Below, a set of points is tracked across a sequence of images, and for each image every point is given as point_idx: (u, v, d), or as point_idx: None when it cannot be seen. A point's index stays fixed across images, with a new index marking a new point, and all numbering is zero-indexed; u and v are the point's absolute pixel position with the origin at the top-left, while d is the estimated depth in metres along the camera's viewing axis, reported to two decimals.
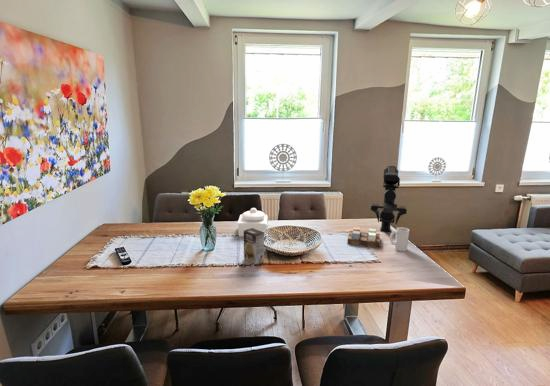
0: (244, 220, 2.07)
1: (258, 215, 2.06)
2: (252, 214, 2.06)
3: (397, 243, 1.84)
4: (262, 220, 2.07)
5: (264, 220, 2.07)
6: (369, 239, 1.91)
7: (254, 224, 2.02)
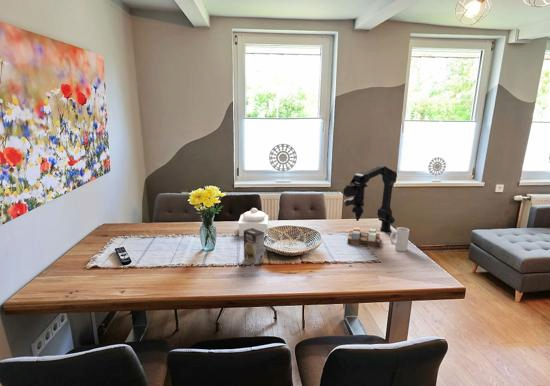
0: (245, 220, 2.07)
1: (259, 215, 2.05)
2: (253, 214, 2.06)
3: (397, 243, 1.84)
4: (263, 220, 2.07)
5: (265, 220, 2.07)
6: (369, 239, 1.91)
7: (255, 224, 2.02)
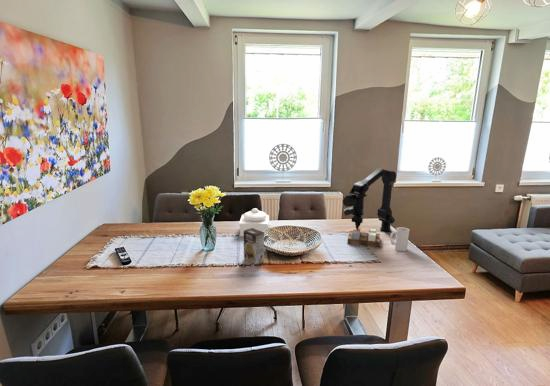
0: (246, 220, 2.07)
1: (260, 215, 2.05)
2: (254, 214, 2.05)
3: (397, 243, 1.84)
4: (264, 220, 2.07)
5: (266, 220, 2.07)
6: (369, 239, 1.91)
7: (256, 224, 2.02)
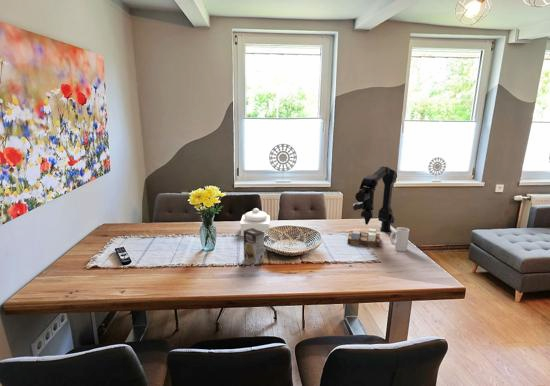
0: (246, 220, 2.07)
1: (260, 215, 2.05)
2: (254, 214, 2.05)
3: (397, 243, 1.84)
4: (264, 220, 2.07)
5: (267, 220, 2.07)
6: (369, 239, 1.91)
7: (256, 224, 2.02)
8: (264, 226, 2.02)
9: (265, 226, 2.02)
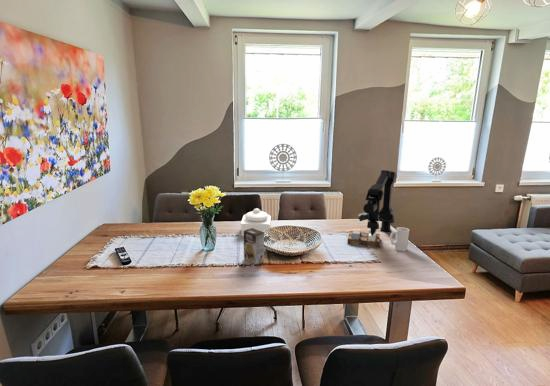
0: (247, 221, 2.06)
1: (261, 216, 2.05)
2: (255, 215, 2.05)
3: (397, 243, 1.84)
4: (265, 221, 2.06)
5: (267, 221, 2.06)
6: (369, 240, 1.91)
7: (257, 225, 2.01)
8: (265, 226, 2.02)
9: (266, 226, 2.02)
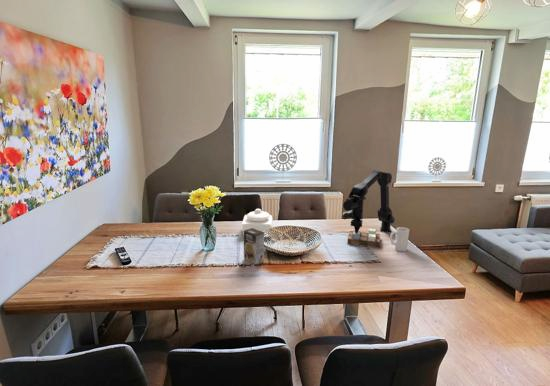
0: (249, 221, 2.06)
1: (263, 216, 2.04)
2: (257, 215, 2.05)
3: (397, 243, 1.84)
4: (267, 221, 2.06)
5: (269, 221, 2.06)
6: (369, 240, 1.91)
7: (259, 225, 2.01)
8: (266, 226, 2.01)
9: (267, 226, 2.01)
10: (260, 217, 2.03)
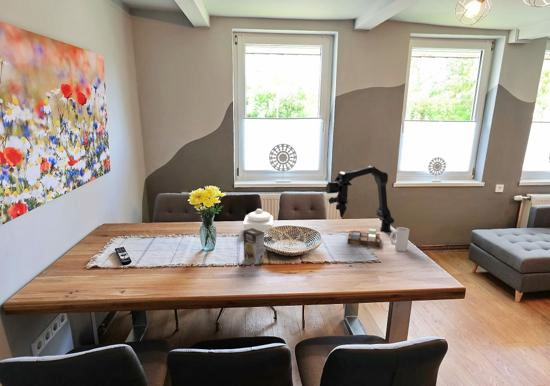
0: (250, 221, 2.06)
1: (264, 216, 2.04)
2: (258, 215, 2.04)
3: (397, 243, 1.84)
4: (268, 221, 2.06)
5: (270, 221, 2.06)
6: (369, 240, 1.91)
7: (260, 225, 2.01)
8: (267, 227, 2.01)
9: (268, 227, 2.01)
10: (261, 217, 2.03)
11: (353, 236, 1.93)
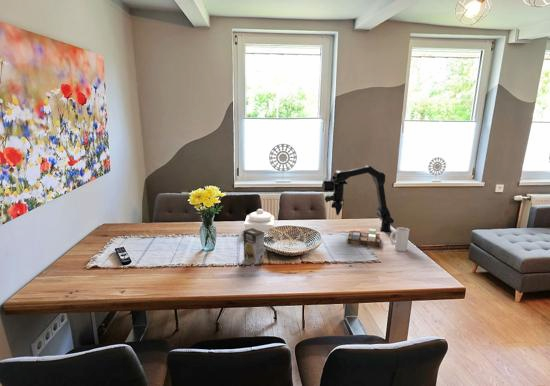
0: (251, 221, 2.06)
1: (265, 216, 2.04)
2: (259, 215, 2.04)
3: (397, 243, 1.84)
4: (269, 221, 2.06)
5: (271, 221, 2.06)
6: (369, 240, 1.91)
7: (261, 225, 2.01)
8: (268, 227, 2.01)
9: (269, 227, 2.01)
10: (262, 217, 2.02)
11: (353, 236, 1.93)
